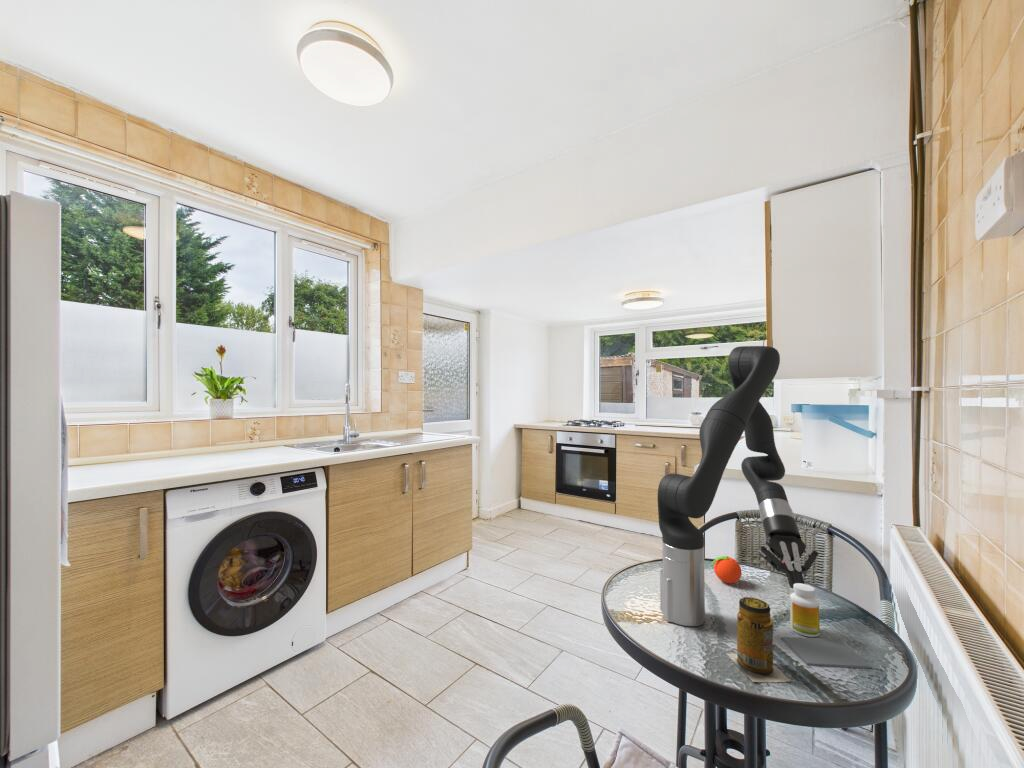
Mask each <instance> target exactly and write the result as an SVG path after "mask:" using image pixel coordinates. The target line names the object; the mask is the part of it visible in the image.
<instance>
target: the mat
mask: <svg viewBox="0 0 1024 768" xmlns="http://www.w3.org/2000/svg"><path fill="white" fill-rule="evenodd" d="M780 640H782V642H783V643H785V645H786V646H788V647H789V649H790V650H791V651H792V652H793V653H794V654H796V656H797V657H798V658H799V659H800V660H801V661H802V662H803V663H804V664H805V665H806V666H814V667H815V666H817V667H831V668H832V667H837V668H853V669H855V668H856V669H859V668H860V669H873V665H871V664H870V663H869V662H867V660H865V659H864V658H863V657H862V656H861V655H860V654H858V653H857V652H855V651H854V650H853V649H852V648H851V647H849V646H848V645H847V644H846V643H845V642H844V641H842V640H841V639H840V638H839V639H838V638H823V637H822V638H820V637H799V636H797V637H796V636H794V637H793V636H780Z"/></svg>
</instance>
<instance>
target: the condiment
mask: <svg viewBox="0 0 1024 768" xmlns="http://www.w3.org/2000/svg"><path fill="white" fill-rule="evenodd" d="M738 604H739V606H738V612H737V615H736V624H737V625H736V630H737V631H736V634H737V635H736V636H737V637H736V641H737V643H736V644H737V645H736V646H737V647H736V653H735V652H734V653H726V656H728V657H729V659H730V660H731V661H732V662H733V663H734V665H736V666H737V667H738V668H739V669H740V670H741V671H742V673H743V674H744V675H746V677H748V678H749V680H751V681H752V683H753V682H754V683H775V684H776V683H779V682H781V683H785V682H791V680H790V679H789V678H788V676H786V675H785V673H784V672H782V671H781V670H780V669H778V667H777V666H776V665H774V636H773V635H774V623H773V621H772V619H771V617H772V615H771V607H770V604H768V603H767V602H766V601H764V600H762V599H760V598H757V597H752V596H744V597H742V598H740V599H739V602H738Z"/></svg>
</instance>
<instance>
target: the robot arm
mask: <svg viewBox="0 0 1024 768" xmlns="http://www.w3.org/2000/svg"><path fill="white" fill-rule="evenodd" d="M780 362H781V355H780V353H779V351H778V350H777V348H775V347H773V346H767V345H745V346H744V345H743V346H741V345H740V346H736V347H734V348H733V349H731V351H730V352H729V356H728V361H727V363H728V366H727V367H728V373H729V376H730V380H731V383H732V386H733V390H732V391H730V392H729V393H727V394H726V395H724V396H723V397H721V398H720V399H719V400H717V401H716V402H714V403H713V405H712V406H711V407H710V408H709V410H708V411H707V413H706V415H705V417H704V419H703V420H702V423H701V425H700V426H699V432H698V433H699V443H700V447H701V459H700V462H699V463H698V466H697V468H696V470H695V472H694V474H693V475H692V476H688V475H685V474H679V473H675V472H674V473H671V472H670V473H666V474H665V475H664V476H663V477H662V478H661V479H660V481H659V485H658V489H657V512H658V513H657V516H658V525H659V526H658V527H659V530H660V533H661V536H662V542H661V543H662V545H661V546H662V569H660V570H659V579H660V581H659V593H660V595H659V596H660V597H659V599H660V600H659V601H660V602H659V603H660V605H659V607H660V608H659V609H660V611H661V613H662V615H663V616H664V618H665V620H666V622H668V623H674V624H676V625H681V626H685V627H699V626H701V625H703V624H704V623H705V621H706V608H705V607H706V606H705V605H706V603H705V602H706V601H705V600H706V599H705V597H706V596H705V590H706V588H705V587H706V586H705V535H704V534H703V532H702V531H701V529H699V528H698V527H696V526H695V525H694V524H693V522H692V521H691V519H701V518H702V517H704V516H705V515H706V514H707V512H709V509H710V508H711V506H712V505H713V502H714V500H715V497H716V494H717V491H718V489H719V486H720V483H721V480H722V477H723V475H724V472H725V470H726V468H727V465H728V463H729V461H730V459H731V458H732V454H733V452H734V450H735V448H736V446H737V445H738V443H739V441H740V440H741V437H742V435H743V434H744V437H745V439H744V440H745V445H746V447H747V449H748V450H749V451H751V452H753V453H760V454H765V455H758V456H757V455H755V456H747V457H745V458H744V459H743V460H742V461H741V471H742V474H743V475H744V478H745V479H746V480H747V482H748V484H749V485H750V486H751V488H752V490H753V492H754V495H755V498H756V501H757V505H758V509H759V515H760V521H761V524H762V527H763V532H764V535H765V538H766V542H765V545H761V546H760V548H759V550H758V554H759V555H760V557H762V558H763V559H764V560H765V561H766V562H767V563H768V564H769V565H770V566H771V567H772V568H774V569H775V570H776V571H777V572H780V573H784V574H785V576H786V579H787V581H788V585H789V587H790V588H791V589H793V585H794V584H795V583H802V584H805V579H804V576H803V575H806V574H807V573H808V571H809V570H810V568H811V566H813V564H814V562H815V561H816V559H817V557H818V556H819V552H818V551H816V550H813V551H812V550H811V549H810V548H808V547H807V546H806V544H805V542H804V541H803V540H802V536H801V533H800V530H799V527H798V523H797V521H796V518H795V515H794V512H793V510H792V507H791V506H790V504H789V503H790V502H789V500H788V497H787V494H786V491H785V489H784V487H783V486H782V484H780V483H778V482H775V481H781V480H782V479H783V478H784V476H785V474H786V468H785V464H784V462H783V461H782V459H781V457H780V455H779V452H778V450H777V447H776V442H775V434H774V433H775V432H774V425H773V421H772V418H771V416H770V414H769V412H768V411H767V409H766V408H765V407H764V406H763V404H762V403H761V402H760V400H761V398H762V397H763V395H764V394H765V392H767V389H768V387H769V386H770V385H771V383H772V382H773V380H774V378H775V377H776V375H777V373H778V369H779V366H780V364H781V363H780ZM690 518H691V519H690ZM803 554H804V557H805V559H806V561H805V562H804V564H803V565H801V558H802V556H803Z"/></svg>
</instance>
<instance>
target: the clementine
mask: <svg viewBox="0 0 1024 768" xmlns="http://www.w3.org/2000/svg"><path fill="white" fill-rule="evenodd" d="M710 566H713V570H714V573H715V576H716V577H717V578H718V579H719V580H720V581H721V582H723V583H726V584H734V583H737V582H738V581H739V580H740V579H741V577H742V567H741V565H740V563H739V562H738V561H737V560H735V559H734V558H733V557H731V556H719V557H716V558H715V559H714V560H713V561H712V562H711V565H710Z"/></svg>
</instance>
